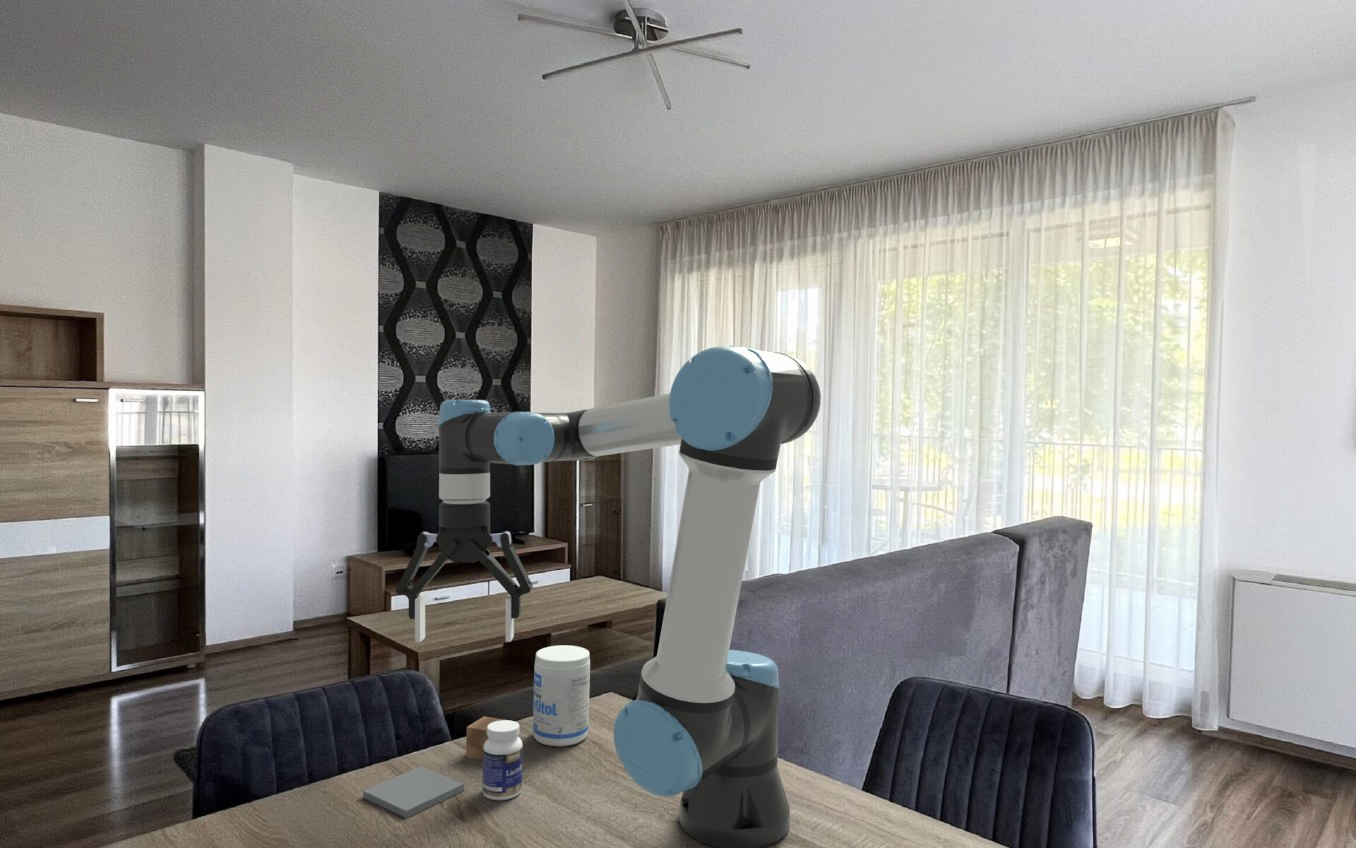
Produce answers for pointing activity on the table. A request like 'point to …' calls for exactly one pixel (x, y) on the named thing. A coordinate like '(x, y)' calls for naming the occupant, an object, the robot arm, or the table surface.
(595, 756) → the table surface
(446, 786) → the slate coaster
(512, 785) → the pill bottle
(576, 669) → the supplement tub
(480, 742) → the walnut cube
